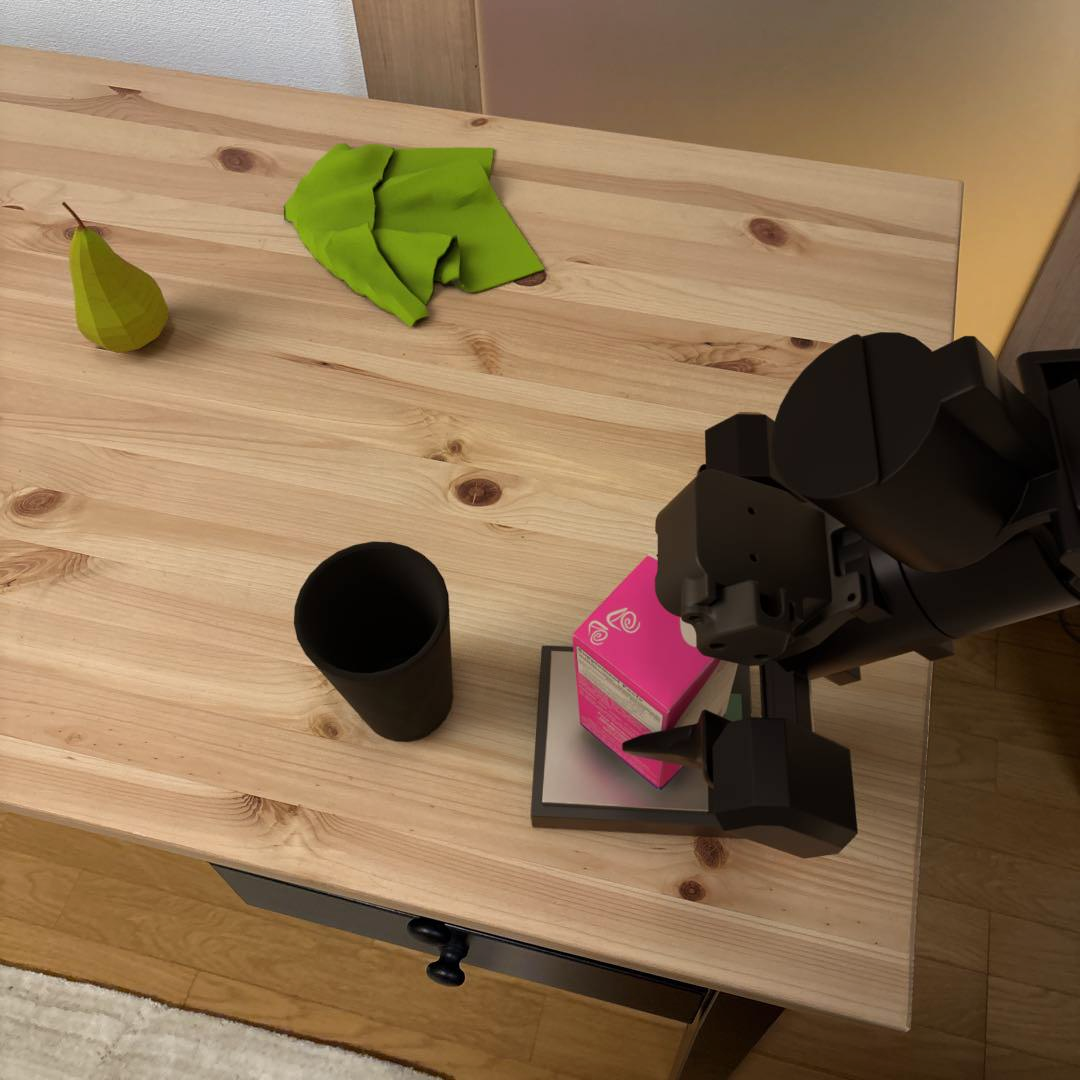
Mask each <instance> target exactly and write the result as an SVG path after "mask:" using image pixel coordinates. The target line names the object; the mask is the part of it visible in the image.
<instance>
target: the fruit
mask: <svg viewBox="0 0 1080 1080" xmlns="http://www.w3.org/2000/svg"><path fill="white" fill-rule="evenodd" d="M61 205H62V206H63V207H64V208H65V209H66V210H67V212H69V213H70V214H71V216H72V217H73V218H74V219H75V221H76V222H77V224H78V225H77V226H76V227H75V228H74V232H73V235H72V239H71V242H70V246H69V250H68V264H69V267H68V268H69V272H70V278H71V283H72V288H73V289H72V290H73V296H74V311H75V321H76V325H77V329H78V331H79V332H80V333H81V334H82V336H83V337H84V338H85V339H87V340H88V341H89V342H91V343H93V344H95V345H97V346H99V347H101V348H104V349H105V350H108V351H109V352H112V353H115V354H121V353H125V352H129V351H135V350H140V349H141V348H142V347H144V346H146V345H147V344H149V343H151V342H153V341H154V340H155V339H157V338H159V336H160V335H161V333H162V331H163V329H164V328H165V326H166V324H167V322H168V320H169V315H170V312H169V311H170V310H169V308H168V305H167V303H166V300H165V298H164V297H165V296H164V294H163V291H162V290H161V289H162V288H161V287H160V286H159V284H158V283H157V281H156V280H155V279H154V278H153V276H151V275H150V274H149V273H148V272H145V271H144V270H142V269H141V268H139V267H138V266H135V265H134V264H132V263H130V262H128V261H127V260H126V259H124V258H123V257H122V256H120V254H117V252H115V251H114V250H113V248H112V247H111V246H110V245H109V244H108V243H107V241H106V240H105V239H104V238H103V237H102V236H101V235H99V233H97V232H96V231H94V230H92V229H90V228H89V227H87V226H86V225H85V224H84V223H83V221H82V219H81V218H80V217H79V216H78V214H77V213H76V212H75V211H74V210H73V209H72V208H71V207H70V206H69V205H68V203H66V202H65V201H63V202H61Z"/></svg>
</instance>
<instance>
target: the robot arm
mask: <svg viewBox="0 0 1080 1080" xmlns="http://www.w3.org/2000/svg"><path fill="white" fill-rule="evenodd" d="M1014 363H1015V368H1016V372H1017V376H1018V381H1019V384H1020V385H1019V386H1020V389H1021V390H1019V388H1018V387H1017V386H1016V385H1014V384H1013V383H1012V382H1011V380H1010V379H1009V378H1007V376H1006V375H1004V373H1003V372H1002V371H1001V370H1000V367H999V365H998V362H997V360H996V358H995V356H994V355H993V353H992V352H991V350H989V349H988V348H987V347H986V346H985V345H984V344H983V343H982V342H981V341H980V340H979V339H978V338H977V336H975V335H963V336H961V337H959V338H957V339H955V340H953V341H951V342H949V343H947V344H945V345H942V346H940V347H939V348H937V349H935V350H932V349H931V348H930V347H929V346H927V345H926V344H925V343H923V342H922V341H921V340H919V339H918V338H917V337H915V336H912V335H909V334H906V333H902V332H899V331H897V332H896V331H895V332H893V331H879V332H875V333H871V334H865V335H860V334H859V333H856V334H852V335H850V336H848V337H846V338H844V339H841V340H839V341H838V342H836V343H835V344H833V345H831V346H830V347H829V348H826V350H823V352H821V353H820V354H819V355H818V356H817V357H815V358H814V360H812V361H811V362H810V363H809V364H807V366H806V367H804V369H803V370H802V371H801V372H800V374H799V375H798V376H797V378H796V379H795V380H794V381H793V382H792V384H791V385H790V387H789V388H788V390H787V391H786V394H785V395H784V396H783V397H784V398H783V399H782V401H781V403H780V404H779V408H778V410H777V413H776V416H775V419H772V418H771V417H769V416H768V414H764V413H762V412H758V411H756V412H755V411H739V412H737V413H734V414H733V415H731V416H729V417H727V418H726V419H723V420H722V421H719V422H718V423H715V424H714V425H712V426H710V427H708V428H706V429H705V430H704V447H705V448H704V453H705V454H704V455H705V463H702V464H701V465H700V466H699V467H698V469H697V470H696V476H694V478H693V479H692V480H691V481H690V482H689V483H687V484H686V486H684V487H683V488H682V489H681V490H680V491H679V492H678V493H677V494H676V495H675V496H674V497H673V498H672V499H671V500H670V501H669V502H668V503H667V504H666V505H664V507H663V508H662V509H660V511H659V512H658V513H657V515H656V517H655V524H654V529H655V530H654V531H655V534H656V535H657V554H655V555H656V556H657V557H658V559H657V574H656V576H655V592H656V596H657V598H658V600H659V602H660V604H661V605H662V606H663V607H664V608H665V609H666V610H667V611H668V612H669V613H671V614H673V615H675V616H678V617H681V619H682V621H683V622H685V623H688V624H691V625H692V626H693V627H694V629H695V632H696V648H697V650H698V651H699V652H700V653H701V654H702V655H704V656H707V657H712V658H716V659H720V660H724V661H728V662H733V663H737V664H741V665H745V666H750V667H758V673H759V674H758V675H759V692H760V693H759V694H760V713H761V714H760V715H761V717H759V716H757V717H755V716H752V717H749V718H745V719H741V720H737V721H734V722H733V721H730V720H728V719H726V718H724V717H721V716H719V715H717V714H715V713H712V712H710V711H708V710H703V711H702V712H701V715H700V717H699V720H698V723H696V724H692V725H687V726H682V727H677V728H672V729H667V730H662V731H657V732H652V733H647V734H643V735H639V736H637V737H634V738H632V739H629V740H627V741H625V742H623V743H622V751H623V752H626V753H628V754H631V755H634V756H637V757H642V758H647V759H652V760H657V761H662V762H667V763H672V764H678V765H683V766H688V767H693V768H698V769H702V775H703V778H704V780H705V782H706V783H707V784H708V785H709V786H710V787H711V788H713V793H714V814H715V816H716V818H717V820H718V821H719V823H720V825H721V827H722V829H723V831H724V832H727V833H730V834H733V835H736V836H739V837H742V838H745V839H744V840H748V841H751V842H753V843H756V844H759V845H762V846H765V847H768V848H772V849H774V850H777V851H779V852H782V853H786V854H788V855H792V856H794V857H797V858H799V859H804V860H805V859H812V858H817V857H818V858H819V857H825V856H833V855H839V854H840V853H841V852H842V851H843V850H844V849H845V848H846V847H847V846H848V845H849V844H850V843H851V841H852V840H853V839H854V838H855V837H856V836H857V835H858V834H859V830H858V820H857V807H856V797H855V788H854V778H853V776H854V775H853V768H852V766H853V765H852V756H851V749H850V748H848V747H846V746H845V745H842V744H840V743H838V742H836V741H834V740H831V739H829V738H828V737H826V736H823V735H821V734H819V733H816V731H815V730H816V729H815V721H814V720H815V718H814V704H813V693H812V681H813V680H818V679H820V678H824V679H826V680H828V681H829V682H832V683H834V684H835V685H837V686H839V687H842V686H845V685H849V684H853V683H856V682H860V681H862V675H861V667H863V666H867V665H870V664H873V663H877V662H881V661H884V660H887V659H891V658H894V657H898V656H899V657H900V656H901V655H905V654H909V653H913V652H914V653H916V654H917V655H920V656H921V657H923V658H924V659H926V660H928V661H929V662H934V661H938V660H941V659H945V658H949V657H952V656H955V655H956V654H955V646H954V642H953V641H955V640H958V639H962V638H965V637H970V636H972V635H973V636H974V635H976V634H980V633H983V632H986V631H990V630H993V629H998V628H1001V627H1004V626H1008V625H1011V624H1015V623H1019V622H1022V621H1025V620H1029V619H1032V618H1036V617H1039V616H1044V615H1046V614H1050V613H1054V612H1057V611H1061V610H1065V609H1068V608H1071V607H1075V606H1079V605H1080V347H1079V348H1065V349H1050V350H1049V349H1048V350H1036V351H1035V350H1034V351H1027V352H1023V353H1021V354H1020V355H1019V356H1017V357H1016V359H1015V361H1014Z"/></svg>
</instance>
